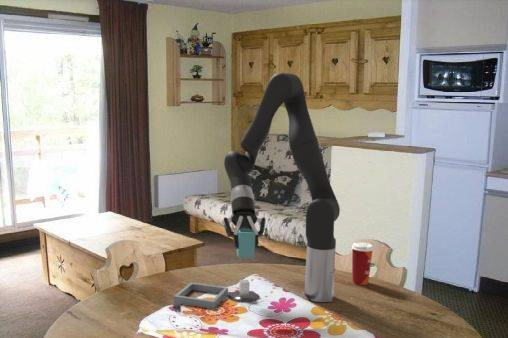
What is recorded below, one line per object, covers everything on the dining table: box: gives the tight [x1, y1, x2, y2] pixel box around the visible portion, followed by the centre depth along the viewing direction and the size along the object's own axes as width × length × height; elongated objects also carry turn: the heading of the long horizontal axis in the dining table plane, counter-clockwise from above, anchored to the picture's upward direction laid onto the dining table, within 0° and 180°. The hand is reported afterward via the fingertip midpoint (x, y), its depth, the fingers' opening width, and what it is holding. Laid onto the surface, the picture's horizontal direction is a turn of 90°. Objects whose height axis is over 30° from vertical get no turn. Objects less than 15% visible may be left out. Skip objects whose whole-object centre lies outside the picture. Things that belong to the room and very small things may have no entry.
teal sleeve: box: [236, 229, 256, 259], centre depth 158 cm, size 5×5×8 cm
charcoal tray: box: [173, 282, 229, 310], centre depth 158 cm, size 13×13×4 cm
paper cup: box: [351, 241, 374, 286], centre depth 181 cm, size 8×8×14 cm
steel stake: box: [227, 279, 261, 304], centre depth 160 cm, size 10×10×6 cm
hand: (246, 247), depth 157 cm, fingers closed on teal sleeve, 5 cm apart
